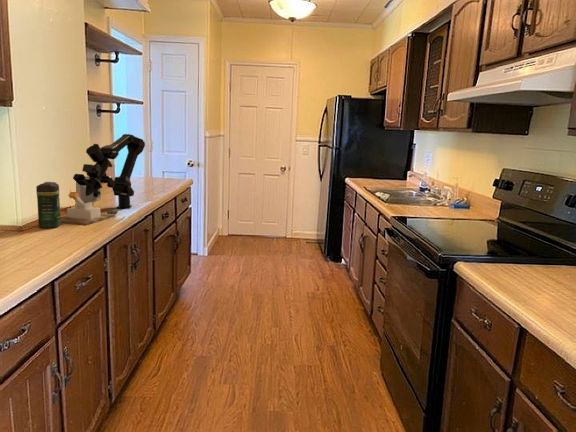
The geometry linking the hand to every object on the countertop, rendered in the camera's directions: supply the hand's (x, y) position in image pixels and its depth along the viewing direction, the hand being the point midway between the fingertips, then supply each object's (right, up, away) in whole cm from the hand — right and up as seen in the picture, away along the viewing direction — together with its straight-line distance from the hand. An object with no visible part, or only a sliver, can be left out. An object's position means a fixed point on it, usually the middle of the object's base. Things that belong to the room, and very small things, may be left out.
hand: (86, 195), depth 204 cm
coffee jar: (-8, -14, -16) cm, 23 cm away
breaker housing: (-1, -11, 0) cm, 11 cm away
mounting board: (-1, -11, 0) cm, 11 cm away
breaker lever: (-1, -5, -1) cm, 5 cm away
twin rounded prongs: (+2, -8, +13) cm, 15 cm away
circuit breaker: (-11, -5, +26) cm, 29 cm away
